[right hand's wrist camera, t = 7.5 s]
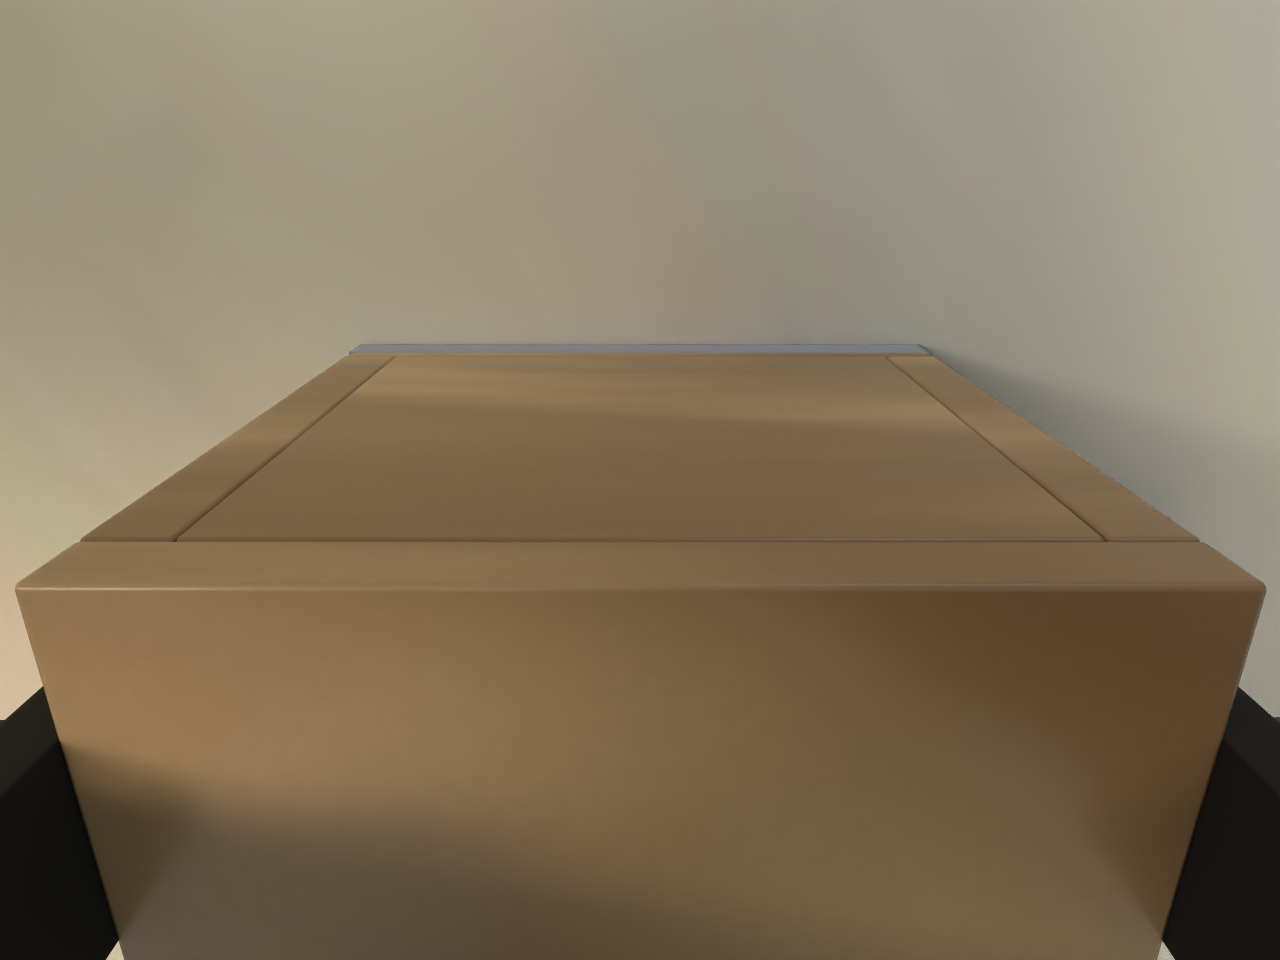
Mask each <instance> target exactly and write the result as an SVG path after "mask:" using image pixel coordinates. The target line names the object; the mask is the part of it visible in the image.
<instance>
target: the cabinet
mask: <svg viewBox="0 0 1280 960" xmlns="http://www.w3.org/2000/svg"><path fill="white" fill-rule="evenodd" d="M931 354H932V352H930V351H929V350H928V349H926V348H925V347H923V346H922V345H359V346H357V347H356V348H354V349H353V350H351V351H350V352H349V356H346V357H344V358H343V359H341V360H340V361H339V362H337V363H336V364H334V365H333V366H331V367H330V368H328V369H327V370H325V371H324V372H323V373H321V374H320V375H318V376H317V377H315V378H314V379H312V380H311V381H309V382H308V383H307V384H305V385H304V386H302V387H301V388H299V389H298V390H296V391H295V392H293V393H292V394H290V395H289V396H288V397H286V398H285V399H283V400H282V401H280V402H279V403H277V404H276V405H274V406H273V407H272V408H270V409H269V410H267V411H266V412H264V413H263V414H261V415H260V416H258V417H257V418H256V419H254V420H253V421H251V422H250V423H248V424H247V425H245V426H244V427H242V428H241V429H240V430H238V431H237V432H235V433H234V434H232V435H231V436H229V437H228V438H226V439H225V440H224V441H222V442H221V443H219V444H218V445H216V446H215V447H213V448H212V449H210V450H209V451H208V452H206V453H205V454H203V455H202V456H200V457H199V458H197V459H196V460H194V461H193V462H192V463H190V464H189V465H187V466H186V467H184V468H183V469H181V470H180V471H178V472H177V473H176V474H174V475H173V476H171V477H170V478H168V479H167V480H165V481H164V482H162V483H161V484H160V485H158V486H157V487H155V488H154V489H152V490H151V491H149V492H148V493H146V494H145V495H143V496H142V497H141V498H139V499H138V500H136V501H135V502H133V503H132V504H130V505H129V506H127V507H126V508H125V509H123V510H122V511H120V512H119V513H117V514H116V515H114V516H113V517H111V518H110V519H109V520H107V521H106V522H104V523H103V524H101V525H100V526H98V527H97V528H95V529H94V530H93V531H91V532H90V533H88V534H87V535H85V536H84V537H82V538H81V541H80V542H78V543H75V544H73V545H72V546H70V547H69V548H67V549H66V550H65V551H63V552H62V553H60V554H59V555H57V556H56V557H54V558H53V559H51V560H50V561H49V562H47V563H46V564H44V565H43V566H41V567H40V568H38V569H37V570H35V571H34V572H33V573H31V574H30V575H28V576H27V577H25V578H24V579H22V580H21V581H19V582H18V583H17V585H16V588H15V592H16V596H17V599H18V602H19V606H20V609H21V613H22V616H23V619H24V623H25V626H26V629H27V633H28V636H29V640H30V643H31V646H32V650H33V653H34V656H35V660H36V663H37V667H38V670H39V673H40V677H41V680H42V683H43V687H44V690H45V694H46V697H47V700H48V704H49V707H50V710H51V714H52V717H53V721H54V724H55V727H56V731H57V734H58V737H59V741H60V744H61V748H62V751H63V754H64V758H65V761H66V764H67V768H68V771H69V774H70V778H71V781H72V785H73V788H74V791H75V795H76V798H77V801H78V805H79V808H80V812H81V815H82V818H83V822H84V825H85V828H86V832H87V835H88V839H89V842H90V845H91V849H92V852H93V855H94V859H95V862H96V866H97V869H98V872H99V876H100V879H101V882H102V886H103V889H104V893H105V896H106V899H107V903H108V906H109V909H110V913H111V916H112V920H113V923H114V926H115V930H116V933H117V936H118V940H119V943H120V947H121V950H122V953H123V957H124V960H1157V957H1158V953H1159V950H1160V946H1161V943H1162V940H1163V936H1164V933H1165V930H1166V926H1167V923H1168V920H1169V916H1170V913H1171V909H1172V906H1173V903H1174V899H1175V896H1176V893H1177V889H1178V886H1179V883H1180V879H1181V876H1182V873H1183V869H1184V866H1185V862H1186V859H1187V856H1188V852H1189V849H1190V846H1191V842H1192V839H1193V836H1194V832H1195V829H1196V826H1197V822H1198V819H1199V815H1200V812H1201V809H1202V805H1203V802H1204V799H1205V795H1206V792H1207V789H1208V785H1209V782H1210V779H1211V775H1212V772H1213V768H1214V765H1215V762H1216V758H1217V755H1218V752H1219V748H1220V745H1221V742H1222V738H1223V735H1224V732H1225V728H1226V725H1227V721H1228V718H1229V715H1230V711H1231V708H1232V705H1233V701H1234V698H1235V695H1236V691H1237V688H1238V685H1239V681H1240V678H1241V674H1242V671H1243V668H1244V664H1245V661H1246V658H1247V654H1248V651H1249V648H1250V644H1251V641H1252V637H1253V634H1254V631H1255V627H1256V624H1257V621H1258V617H1259V614H1260V611H1261V607H1262V604H1263V601H1264V597H1265V594H1266V586H1265V585H1264V583H1263V582H1261V581H1260V580H1258V579H1257V578H1255V577H1254V576H1252V575H1251V574H1250V573H1248V572H1247V571H1245V570H1244V569H1242V568H1241V567H1239V566H1238V565H1236V564H1235V563H1234V562H1232V561H1231V560H1229V559H1228V558H1226V557H1225V556H1223V555H1222V554H1220V553H1219V552H1218V551H1216V550H1215V549H1213V548H1212V547H1210V546H1209V545H1207V544H1205V543H1202V542H1200V541H1199V539H1198V538H1197V537H1196V536H1194V535H1193V534H1191V533H1190V532H1189V531H1187V530H1186V529H1184V528H1183V527H1181V526H1180V525H1178V524H1177V523H1175V522H1174V521H1173V520H1171V519H1170V518H1168V517H1167V516H1165V515H1164V514H1162V513H1161V512H1159V511H1158V510H1157V509H1155V508H1154V507H1152V506H1151V505H1149V504H1148V503H1146V502H1145V501H1143V500H1142V499H1141V498H1139V497H1138V496H1136V495H1135V494H1133V493H1132V492H1130V491H1129V490H1127V489H1126V488H1125V487H1123V486H1122V485H1120V484H1119V483H1117V482H1116V481H1114V480H1113V479H1111V478H1110V477H1109V476H1107V475H1106V474H1104V473H1103V472H1101V471H1100V470H1098V469H1097V468H1095V467H1094V466H1093V465H1091V464H1090V463H1088V462H1087V461H1085V460H1084V459H1082V458H1081V457H1080V456H1078V455H1077V454H1075V453H1074V452H1072V451H1071V450H1069V449H1068V448H1066V447H1065V446H1064V445H1062V444H1061V443H1059V442H1058V441H1056V440H1055V439H1053V438H1052V437H1050V436H1049V435H1048V434H1046V433H1045V432H1043V431H1042V430H1040V429H1039V428H1037V427H1036V426H1034V425H1033V424H1032V423H1030V422H1029V421H1027V420H1026V419H1024V418H1023V417H1021V416H1020V415H1018V414H1017V413H1016V412H1014V411H1013V410H1011V409H1010V408H1008V407H1007V406H1005V405H1004V404H1002V403H1001V402H1000V401H998V400H997V399H995V398H994V397H992V396H991V395H989V394H988V393H986V392H985V391H984V390H982V389H981V388H979V387H978V386H976V385H975V384H973V383H972V382H970V381H969V380H968V379H966V378H965V377H963V376H962V375H960V374H959V373H957V372H956V371H954V370H953V369H952V368H950V367H949V366H947V365H946V364H944V363H943V362H941V361H940V360H938V359H937V358H935V357H933V356H932V355H931Z"/></svg>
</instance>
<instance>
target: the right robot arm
mask: <svg viewBox="0 0 1280 960" xmlns="http://www.w3.org/2000/svg"><path fill="white" fill-rule="evenodd" d="M1162 941H1163V942H1164V944H1165V945H1166V947H1167V948H1168V950H1169V951H1170V953H1171V954H1172V956H1173V957H1174V959H1175V960H1280V717H1272V716H1271V715H1270V714H1269V713H1267V712H1266V711H1265V710H1264V709H1263V708H1262V707H1261V706H1260V705H1258V704H1257V703H1256V702H1255V701H1254V700H1253V699H1252V698H1251V697H1249V696H1248V695H1247V694H1246V693H1245V692H1244V691H1243V690H1242V689H1240V688H1239V687H1238V688H1237V691H1236V695H1235V698H1234V701H1233V705H1232V708H1231V711H1230V715H1229V718H1228V721H1227V725H1226V728H1225V732H1224V735H1223V738H1222V742H1221V745H1220V748H1219V752H1218V755H1217V758H1216V762H1215V765H1214V768H1213V772H1212V775H1211V779H1210V782H1209V785H1208V789H1207V792H1206V795H1205V799H1204V802H1203V805H1202V809H1201V812H1200V815H1199V819H1198V822H1197V826H1196V829H1195V832H1194V836H1193V839H1192V842H1191V846H1190V849H1189V852H1188V856H1187V859H1186V862H1185V866H1184V869H1183V873H1182V876H1181V879H1180V883H1179V886H1178V889H1177V893H1176V896H1175V899H1174V903H1173V906H1172V909H1171V913H1170V916H1169V920H1168V923H1167V926H1166V930H1165V933H1164V936H1163V940H1162ZM117 942H118V936H117V933H116V930H115V926H114V923H113V920H112V916H111V913H110V909H109V906H108V903H107V899H106V896H105V893H104V889H103V886H102V882H101V879H100V876H99V872H98V869H97V866H96V862H95V859H94V855H93V852H92V849H91V845H90V842H89V839H88V835H87V832H86V828H85V825H84V822H83V818H82V815H81V812H80V808H79V805H78V801H77V798H76V795H75V791H74V788H73V785H72V781H71V778H70V774H69V771H68V768H67V764H66V761H65V758H64V754H63V751H62V748H61V744H60V741H59V737H58V734H57V731H56V727H55V724H54V721H53V717H52V714H51V710H50V707H49V704H48V700H47V697H46V694H45V690H44V687H42V688H41V689H39V690H38V691H37V692H36V693H35V694H34V695H33V696H32V697H30V698H29V699H28V700H27V701H26V702H25V703H24V704H23V705H21V706H20V707H19V708H18V709H17V710H16V711H15V712H14V713H12V714H11V715H10V716H9V717H8V718H7V719H6V720H0V960H106V958H107V957H108V955H109V954H110V952H111V951H112V949H113V948H114V946H115V945H116V943H117Z"/></svg>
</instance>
